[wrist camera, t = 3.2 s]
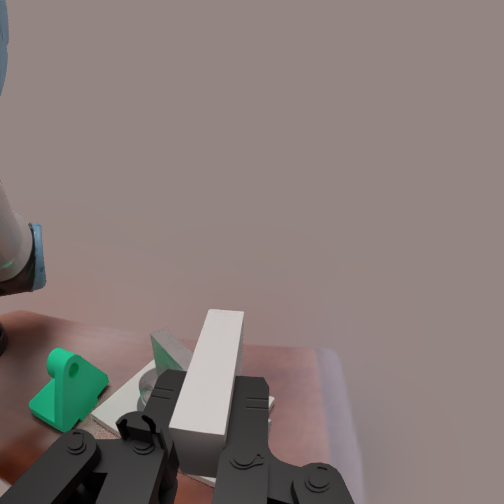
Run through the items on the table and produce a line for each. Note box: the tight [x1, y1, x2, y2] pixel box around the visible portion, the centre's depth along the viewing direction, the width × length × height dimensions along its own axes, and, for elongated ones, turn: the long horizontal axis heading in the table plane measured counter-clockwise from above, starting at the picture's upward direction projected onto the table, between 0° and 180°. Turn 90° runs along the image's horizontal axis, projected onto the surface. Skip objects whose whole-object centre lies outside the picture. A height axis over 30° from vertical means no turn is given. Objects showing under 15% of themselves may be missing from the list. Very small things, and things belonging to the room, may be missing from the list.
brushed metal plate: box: [139, 328, 272, 441], centre depth 29 cm, size 20×7×12 cm, turn 42°
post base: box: [91, 360, 274, 487], centre depth 36 cm, size 20×16×3 cm
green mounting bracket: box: [29, 348, 109, 433], centre depth 34 cm, size 12×8×10 cm, turn 169°
